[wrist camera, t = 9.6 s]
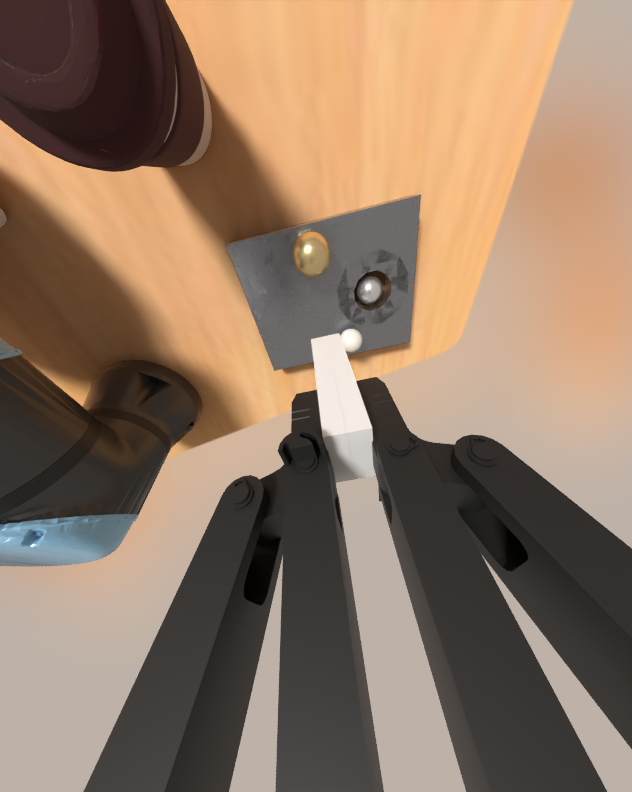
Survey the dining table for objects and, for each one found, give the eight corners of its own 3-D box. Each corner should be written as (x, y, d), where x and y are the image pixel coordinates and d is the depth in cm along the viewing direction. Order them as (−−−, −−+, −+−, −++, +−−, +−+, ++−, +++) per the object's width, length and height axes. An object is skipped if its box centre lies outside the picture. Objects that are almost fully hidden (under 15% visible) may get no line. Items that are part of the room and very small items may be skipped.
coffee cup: (247, 170, 22) (195, 133, 11) (152, 197, 23) (8, 189, 11) (191, -28, 16) (-91, -660, 4) (62, 18, 16) (-477, -415, 5)
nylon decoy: (339, 347, 32) (342, 358, 30) (336, 327, 30) (339, 337, 28) (360, 342, 32) (365, 353, 30) (358, 322, 30) (363, 332, 28)
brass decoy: (297, 276, 26) (297, 286, 23) (287, 235, 23) (286, 239, 20) (332, 268, 26) (336, 277, 23) (326, 225, 23) (330, 228, 20)
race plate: (275, 361, 36) (274, 370, 34) (231, 242, 26) (225, 245, 24) (403, 334, 34) (409, 341, 32) (410, 195, 24) (420, 194, 22)
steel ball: (353, 302, 31) (362, 310, 28) (351, 277, 29) (361, 282, 26) (376, 296, 31) (387, 303, 28) (375, 270, 29) (387, 275, 26)
